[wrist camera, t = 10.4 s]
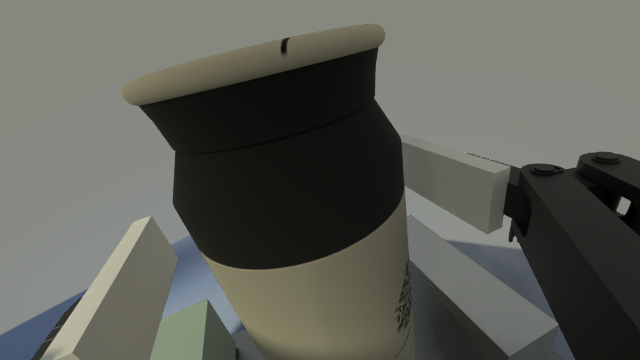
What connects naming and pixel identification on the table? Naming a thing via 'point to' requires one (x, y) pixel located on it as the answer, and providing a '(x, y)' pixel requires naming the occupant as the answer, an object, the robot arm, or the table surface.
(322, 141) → the travel mug
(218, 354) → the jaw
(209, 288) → the table surface
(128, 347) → the robot arm
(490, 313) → the vise bed
